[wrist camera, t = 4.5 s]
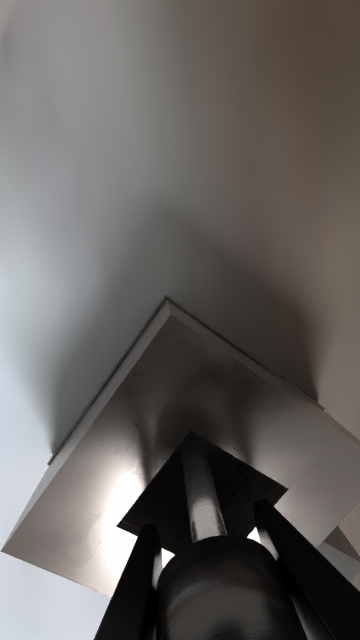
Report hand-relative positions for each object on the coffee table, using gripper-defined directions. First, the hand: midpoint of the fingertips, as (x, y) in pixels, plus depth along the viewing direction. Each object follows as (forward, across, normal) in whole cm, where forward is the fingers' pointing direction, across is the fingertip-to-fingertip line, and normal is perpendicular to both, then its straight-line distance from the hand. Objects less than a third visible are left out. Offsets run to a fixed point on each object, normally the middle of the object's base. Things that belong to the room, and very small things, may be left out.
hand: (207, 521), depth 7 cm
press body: (+5, -1, +1) cm, 5 cm away
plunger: (+4, 0, 0) cm, 4 cm away
